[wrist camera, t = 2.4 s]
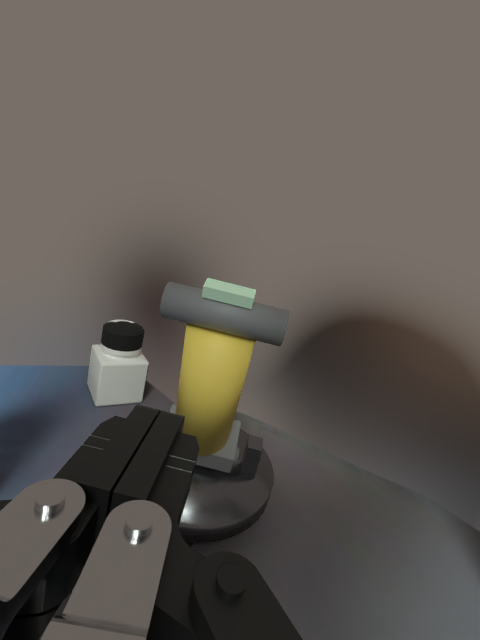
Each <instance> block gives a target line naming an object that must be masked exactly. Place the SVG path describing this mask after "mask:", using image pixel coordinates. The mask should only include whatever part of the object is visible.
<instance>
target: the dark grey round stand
mask: <svg viewBox="0 0 480 640" xmlns="http://www.w3.org/2000/svg"><path fill="white" fill-rule="evenodd" d="M262 443H263V438H259V437H255V436H251V435H248V434H247V433H246V432H244V431H243V430H241V429H240V431H239V436H238V442H237V447H240V449H239V455H238V459H237V462H236V464H234V463H233V465H232V468H231V471H230V473H227V472H223V471H219V470H215V469H212V468H208V467H204V466H200V465H196V466H195V470H194V474H193V478H192V483H191V487H190V491H189V494H188V497H187V501H186V504H185V507H184V510H183V514H182V517H181V520H180V524H179V527H178V529H179V532H180V534H181V536H182V538H183V539H184V541H185V542H186V543H187V544H188V545H189V546H190V547H191V546H192V544H193V541H213V540H219V539H224V538H227V537H230V536H233V535H236V534H238V533H240V532H242V531H244V530H245V529H247V528H249V527H250V526H251V525H252V524H254V523H255V522H256V521H257V520H258V519H259V517H260V516H261V515H262V513H263V512H264V510H265V508H266V506H267V502H268V499H269V496H270V493H271V489H272V486H273V478H274V475H273V468H272V465H271V462H270V460H269V457H268V456H267V454H266V452H265V451H264V449H263V448H262Z"/></svg>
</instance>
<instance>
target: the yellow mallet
mask: <svg viewBox="0 0 480 640" xmlns="http://www.w3.org/2000/svg"><path fill="white" fill-rule="evenodd" d="M255 293H256V290H255V289H251V288H247V287H243V286H238V285H235V284H231V283H226V282H222V281H218V280H214V279H210V278H207V280H206V282H205V284H204V286H203V289H198V288H195V287H191V286H186V285H182V284H178V283H174V282H168V284H167V286H166V288H165V290H164V293H163V296H162V300H161V306H160V315H161V317H165V318H169V319H172V320H177V321H180V322H184V323H187V325H186V333H185V341H184V350H183V357H182V366H181V374H180V381H179V390H178V397H177V405H175V404H173V405H172V407H171V410H170V413H174V414H178V415H182V416H185V420H184V425H183V430H182V433H184V434H188V435H192V436H196V438H197V441H198V445H199V448H200V449H199V453H198V457H197V461H196V465H200V466H204V467H208V468H212V469H215V470H219V471H223V472H227V473H230V471H231V468H232V465H233V463H234V464H236V462H237V459H238V455H239V449H240V447H237V442H238V436H239V431H240V426H241V421H238V420H234V417H235V413H236V409H237V406H238V402H239V399H240V395H241V392H242V388H243V384H244V381H245V377H246V374H247V370H248V366H249V363H250V359H251V356H252V352H253V348H254V344H255V341H261V342H264V343H268V344H273V345H276V346H281V344H282V342H283V339H284V336H285V333H286V328H287V324H288V319H289V311H288V310H283V309H279V308H275V307H271V306H267V305H263V304H259V303H255V302H253V301H254V296H255Z"/></svg>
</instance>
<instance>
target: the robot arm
mask: <svg viewBox="0 0 480 640" xmlns="http://www.w3.org/2000/svg"><path fill="white" fill-rule="evenodd" d="M184 420H185V416H182V415H178V414H174V413H170V412H166V411H161V410H158V409H154V408H150V407H146V406H142V405H136V406H135V408H134V409H133V410H132V412H131V413H130V414H129V416H128V417H127V418H126V419H125V418H121V417H118V416H114V417H112V418H110V419H108V420H106V421H105V422H103V423H101V424H100V425H99V426H98V427H97V428H96V430H95V431H94V432H93V433H92V434H91V436H89V438H88V439H87V440H86V441H85V442H84V444H83V446H81V447H80V448H79V449H78V450H77V451H76V453H75V454H74V455H73V456H72V457H71V458H70V459H69V461H68V462H67V463H66V464H65V465H64V466H63V468H62V469H61V470H60V471H59V472H58V473H57V474H56V476H55V477H54V478H53V479H47V480H43V481H39V482H36V483H34V484H32V485H30V486H28V487H27V488H25V489H24V490H23V491H21V492H20V493H19V494H18V495H17V496H16V497H15V498H14V499H12V500H2V501H0V640H302V638H301V637H300V635H299V633H298V632H297V630H296V629H295V627H294V626H293V624H292V623H291V621H290V619H289V618H288V616H287V615H286V613H285V612H284V610H283V609H282V607H281V606H280V604H279V602H278V601H277V599H276V598H275V596H274V595H273V593H272V592H271V590H270V588H269V587H268V585H267V584H266V582H265V581H264V579H263V578H262V576H261V574H260V573H259V571H258V570H257V569H256V567H255V566H254V565H253V564H252V563H251V562H250V561H248V560H247V559H246V558H244V557H242V556H241V555H238V554H236V553H232V552H217V553H214V554H211V555H209V556H208V557H206V558H205V557H204V556H202V555H201V554H199V553H198V552H196V551H195V550H193V549H192V548H191V547H190V546H189V545H188V544H187V543H186V542H185V541H184V539H183V538H182V536H181V534H180V532H179V529H178V527H179V524H180V520H181V517H182V514H183V510H184V507H185V504H186V501H187V497H188V494H189V491H190V487H191V483H192V478H193V474H194V470H195V466H196V461H197V457H198V453H199V449H200V448H199V445H198V441H197V438H196V436H192V435H188V434H184V433H182V430H183V425H184ZM74 586H75V588H74ZM73 588H74V590H73ZM72 590H73V592H72Z"/></svg>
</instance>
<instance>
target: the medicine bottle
mask: <svg viewBox="0 0 480 640" xmlns="http://www.w3.org/2000/svg"><path fill="white" fill-rule="evenodd" d="M143 337H144V329H143V327H142V326H140V325H138V324H136V323H135V322H132V321H127V320H113V321H109V322H107V323H106V324H104V325H103V332H102V339H101V345H93V346H92V350H91V358H90V365H89V373H88V381H87V385H88V387H89V390H90V393H91V395H92V398H93V401H94V404H95V406H97V407H99V406H110V405H121V404H132V403H141V402H142V400H143V395H144V389H145V383H146V378H147V372H148V366H149V362H148V361H147V360H146V358H145V357H144V356H143V354H142V353H141V349H142V342H143Z"/></svg>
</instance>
